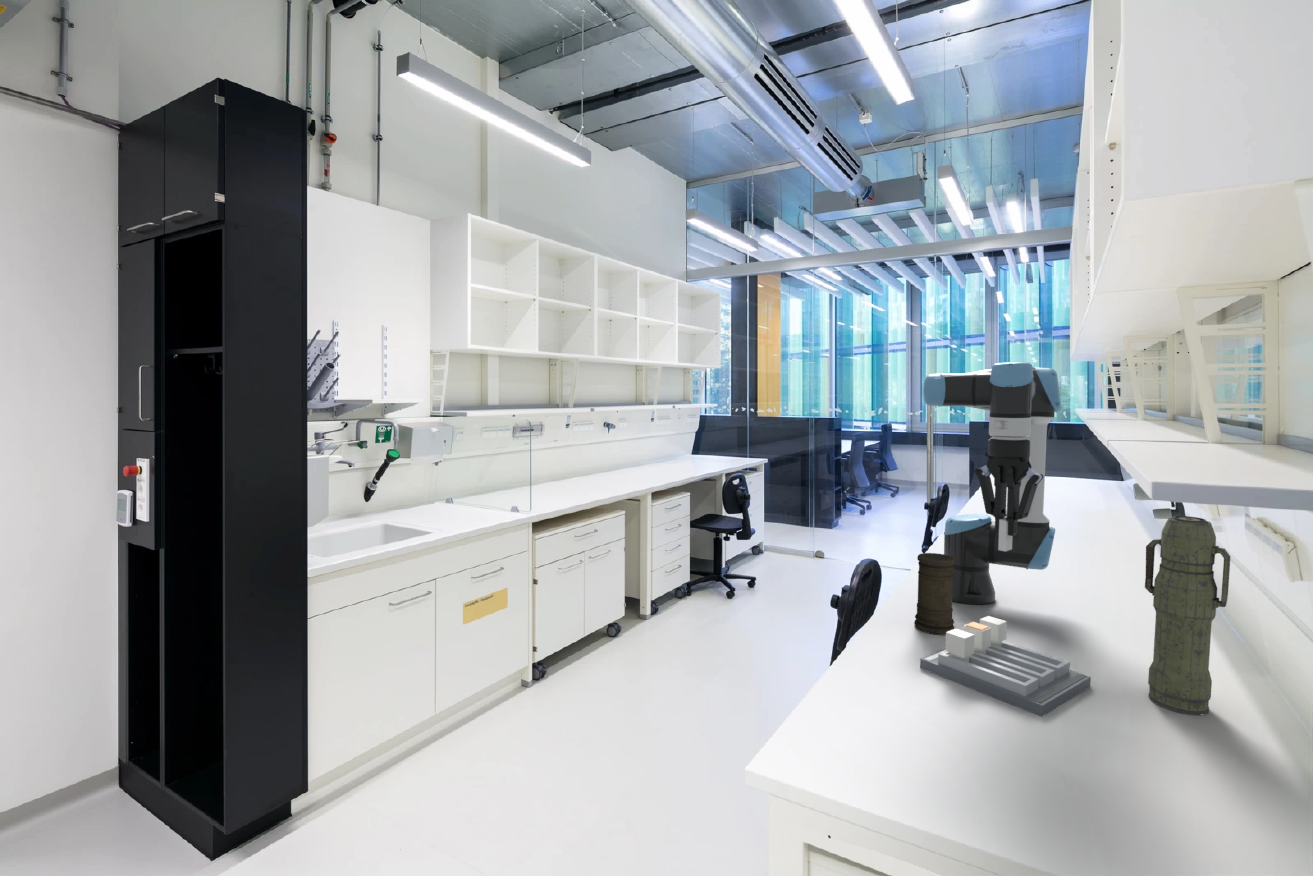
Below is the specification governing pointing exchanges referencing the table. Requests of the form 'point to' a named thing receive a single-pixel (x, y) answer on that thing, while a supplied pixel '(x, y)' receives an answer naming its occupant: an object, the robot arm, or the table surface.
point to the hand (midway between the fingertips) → (1005, 549)
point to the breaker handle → (979, 636)
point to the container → (935, 593)
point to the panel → (1006, 670)
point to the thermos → (1184, 613)
